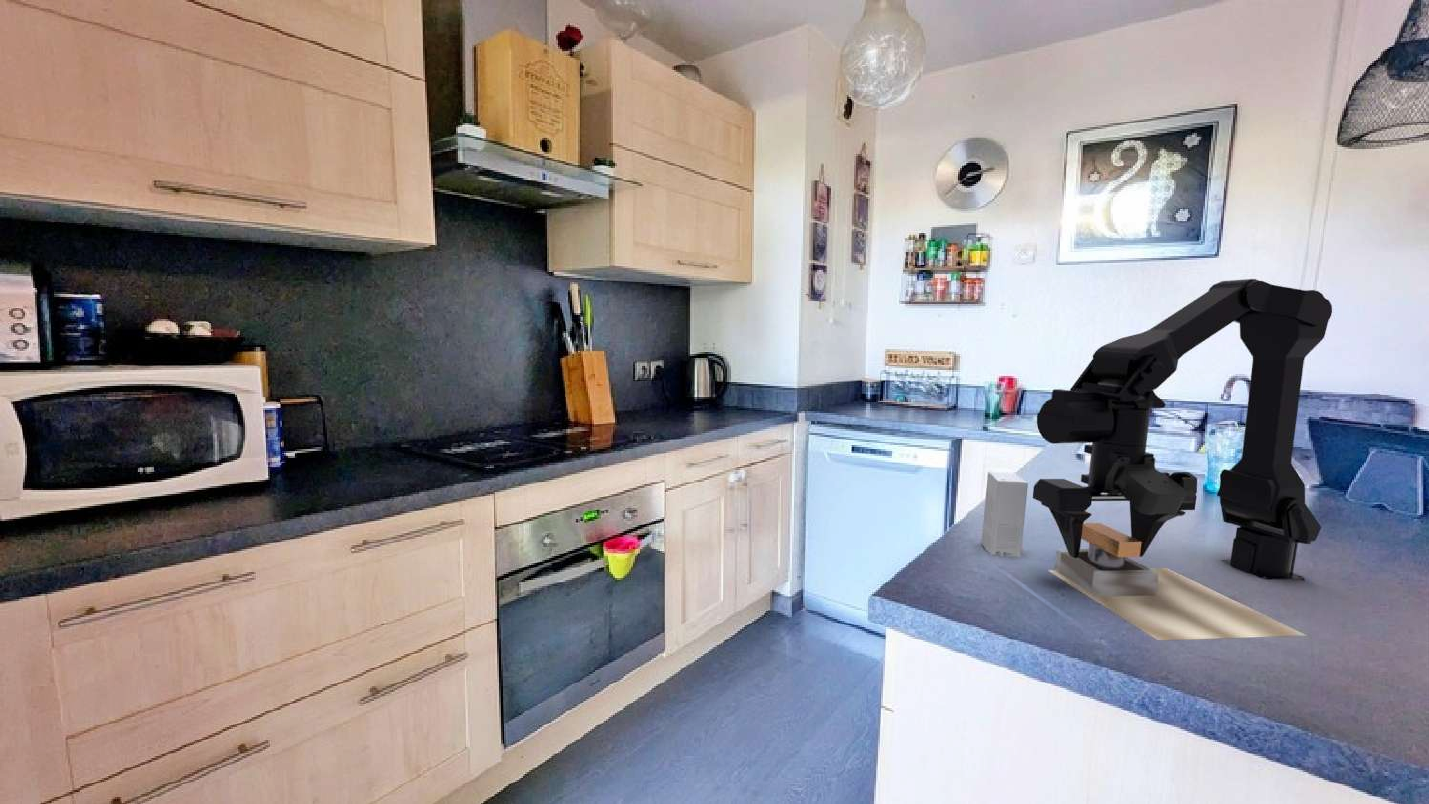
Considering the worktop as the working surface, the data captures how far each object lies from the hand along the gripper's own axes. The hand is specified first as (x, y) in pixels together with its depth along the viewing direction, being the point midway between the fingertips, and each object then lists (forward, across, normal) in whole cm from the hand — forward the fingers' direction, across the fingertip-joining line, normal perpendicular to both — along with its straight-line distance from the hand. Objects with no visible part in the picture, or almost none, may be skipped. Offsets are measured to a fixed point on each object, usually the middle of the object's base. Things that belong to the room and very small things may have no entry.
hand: (1105, 556), depth 76 cm
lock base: (+4, +4, -5) cm, 8 cm away
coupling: (+4, 0, 0) cm, 4 cm away
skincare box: (+4, -7, +12) cm, 15 cm away
